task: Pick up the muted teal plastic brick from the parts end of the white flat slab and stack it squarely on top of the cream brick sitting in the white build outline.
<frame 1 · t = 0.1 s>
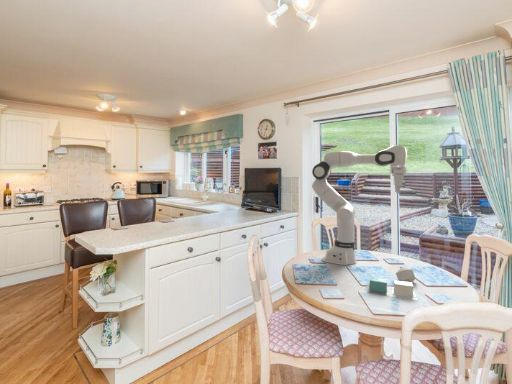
hand: (397, 192, 172), 48 cm above the table, fingers open, 8 cm apart
teal brick: (377, 289, 140), point 1 cm above the table, touching white flat slab
grey brown rock: (405, 283, 150), on the table
white flat slab: (390, 293, 138), on the table
cream brick: (403, 292, 136), point 1 cm above the table, touching white flat slab
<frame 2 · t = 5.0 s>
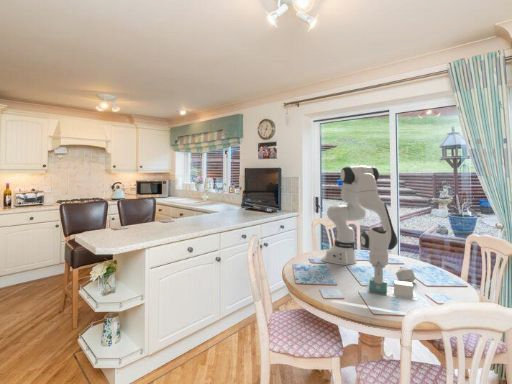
hand: (377, 285, 140), 3 cm above the table, fingers closed on teal brick, 5 cm apart
teal brick: (377, 289, 140), point 1 cm above the table, touching white flat slab, gripper
everything else where it was.
when the fingers open (8 cm above the table, at t = 9.2 s): teal brick stays where it is, resting on cream brick.
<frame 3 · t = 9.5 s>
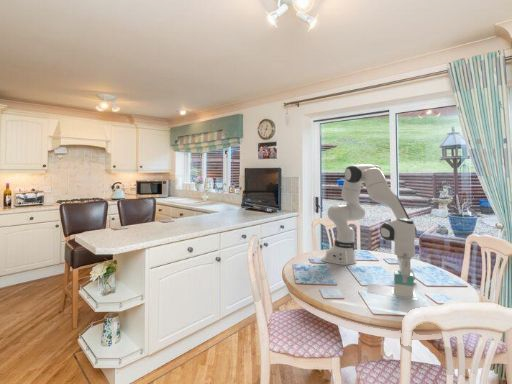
hand: (403, 278, 135), 8 cm above the table, fingers open, 8 cm apart
teal brick: (403, 283, 135), point 6 cm above the table, touching cream brick
cream brick: (403, 292, 136), point 1 cm above the table, touching white flat slab, teal brick
everything else where it was.
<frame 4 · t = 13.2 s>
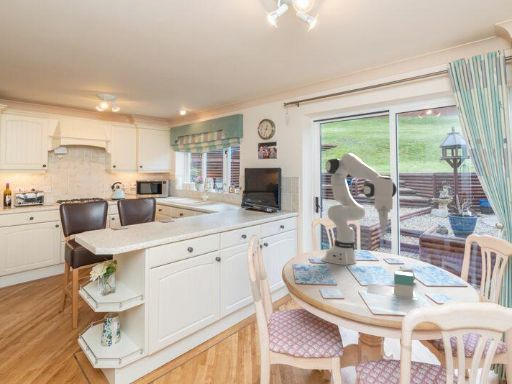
hand: (382, 230, 149), 29 cm above the table, fingers open, 8 cm apart
nothing on the table moved.
at the end: teal brick 0.1 cm off-centre on the cream brick, point 5.0 cm above the cream brick's base; teal brick tilted 0°; the gripper is holding nothing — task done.
